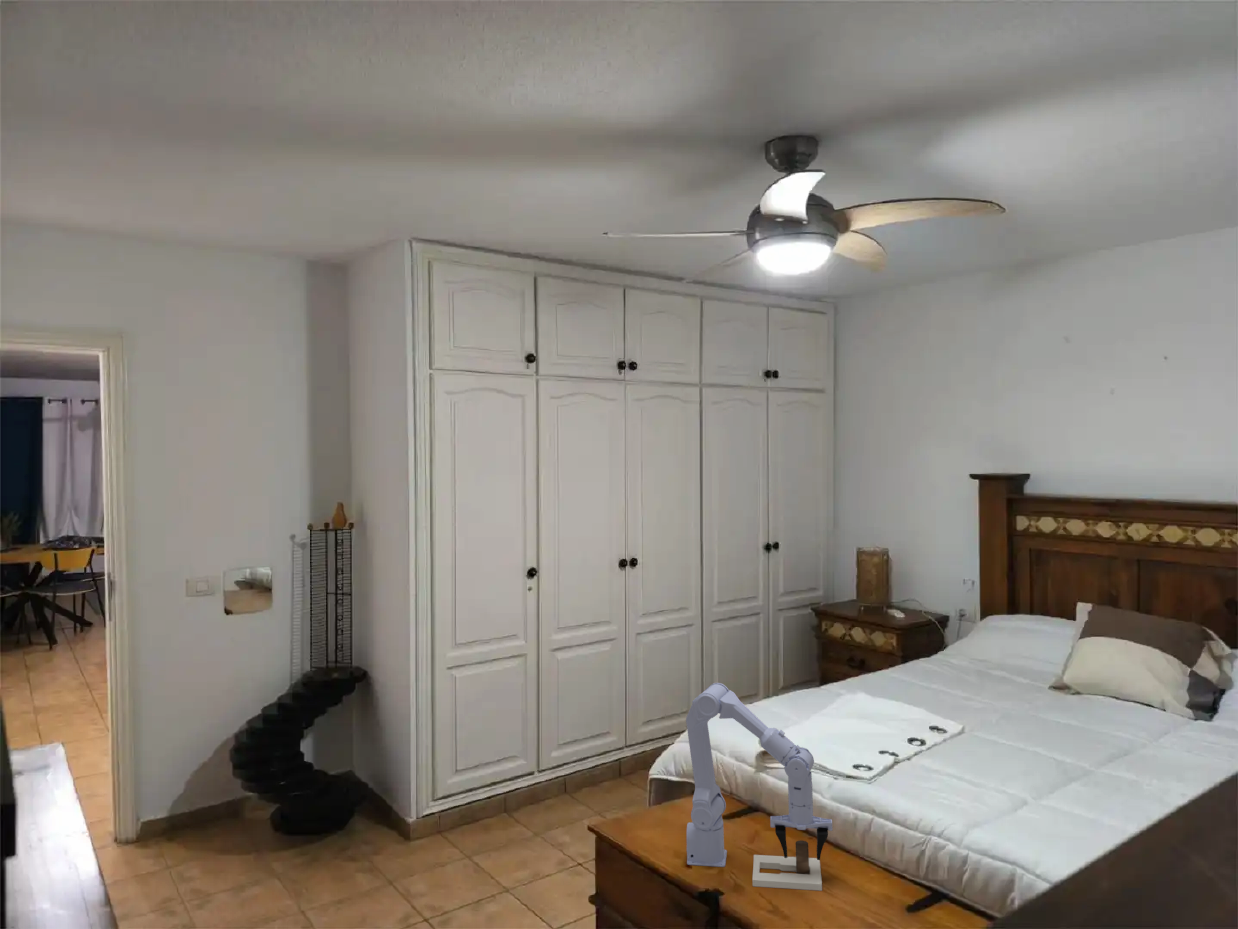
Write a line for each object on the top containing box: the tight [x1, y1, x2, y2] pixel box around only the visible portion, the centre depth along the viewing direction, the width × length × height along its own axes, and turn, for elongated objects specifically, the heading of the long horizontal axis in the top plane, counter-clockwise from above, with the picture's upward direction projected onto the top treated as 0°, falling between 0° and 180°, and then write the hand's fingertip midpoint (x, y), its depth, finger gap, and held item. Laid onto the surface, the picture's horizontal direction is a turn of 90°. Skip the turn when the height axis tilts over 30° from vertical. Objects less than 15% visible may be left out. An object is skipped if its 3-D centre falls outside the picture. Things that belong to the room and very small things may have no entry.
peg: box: [795, 839, 810, 874], centre depth 201 cm, size 3×3×8 cm
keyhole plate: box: [752, 854, 823, 892], centre depth 202 cm, size 16×12×2 cm
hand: (802, 857), depth 201 cm, fingers open, 7 cm apart
